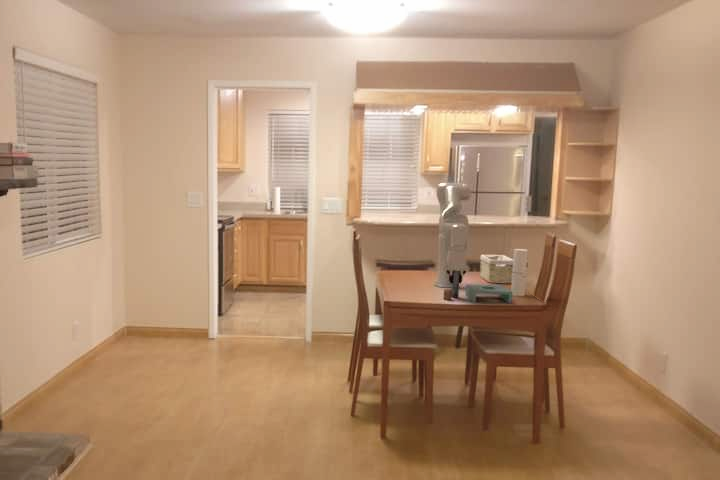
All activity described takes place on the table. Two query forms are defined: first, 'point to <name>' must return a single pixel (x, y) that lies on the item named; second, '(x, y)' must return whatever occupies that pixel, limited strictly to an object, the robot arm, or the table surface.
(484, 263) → the storage basket
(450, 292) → the short pin
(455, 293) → the long pin
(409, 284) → the table surface
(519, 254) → the cylindrical container
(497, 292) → the bridge
